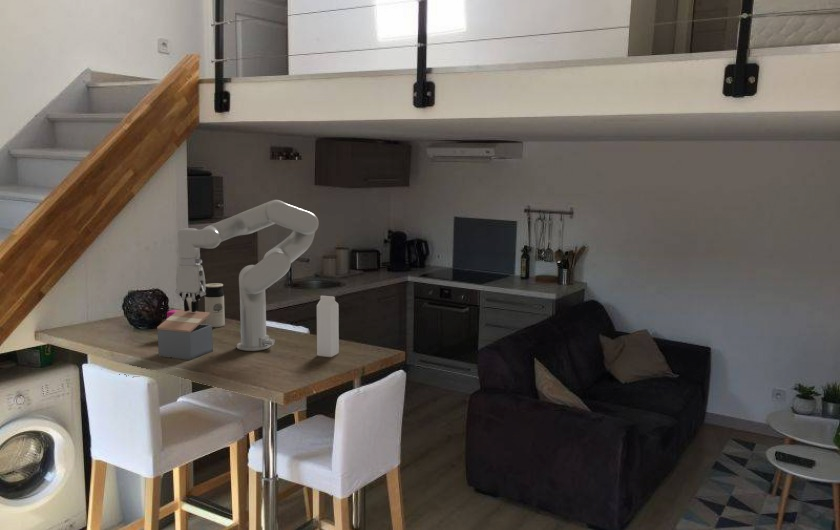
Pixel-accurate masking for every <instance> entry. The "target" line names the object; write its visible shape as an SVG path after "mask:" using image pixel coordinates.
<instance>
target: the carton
mask: <svg viewBox="0 0 840 530" xmlns="http://www.w3.org/2000/svg"><path fill="white" fill-rule="evenodd" d="M213 341H214V339H213V327H212V325H206V323H205V324H202V323H200V324H199V325H198V326H197V327H196V328H195V329H194V330H192V331H191V332H190V333H189V332H179V331H169V330H160V329H157V350H158V357H162V356H163V357H164V358H170V357H172V358H171V359H180V360H181V359H182V360H190V361H191V360H194V359H197V358H199V357H202V356H204V355H207V354H209V353H212V352H214V343H213ZM163 357H162V358H163Z"/></svg>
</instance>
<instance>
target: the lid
mask: <svg viewBox="0 0 840 530" xmlns="http://www.w3.org/2000/svg"><path fill="white" fill-rule="evenodd" d="M186 299H187V303H188V307H189V311H184V309H177V310H178V311H176V312H175V313H174V314H173V315H171V316H170V317H169V318H167V317H166V319H165V320H164V321H163V322H162V323H160V324H159V325H158V326H156V328H157V330H158V329H160V330H169V331H179V332H189V333H190V332H191V331H192V330H194V329H195V328H196V327H197V326H198V325H199V324H202V323H203V322H205V319H206V318H207V317H208V316H210V315H211V314H210V313H209V312H205V311H199V310H198V311H196V312H192V308H191V302H192V301H193V300H192V296H189V297H187V298H186Z"/></svg>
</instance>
